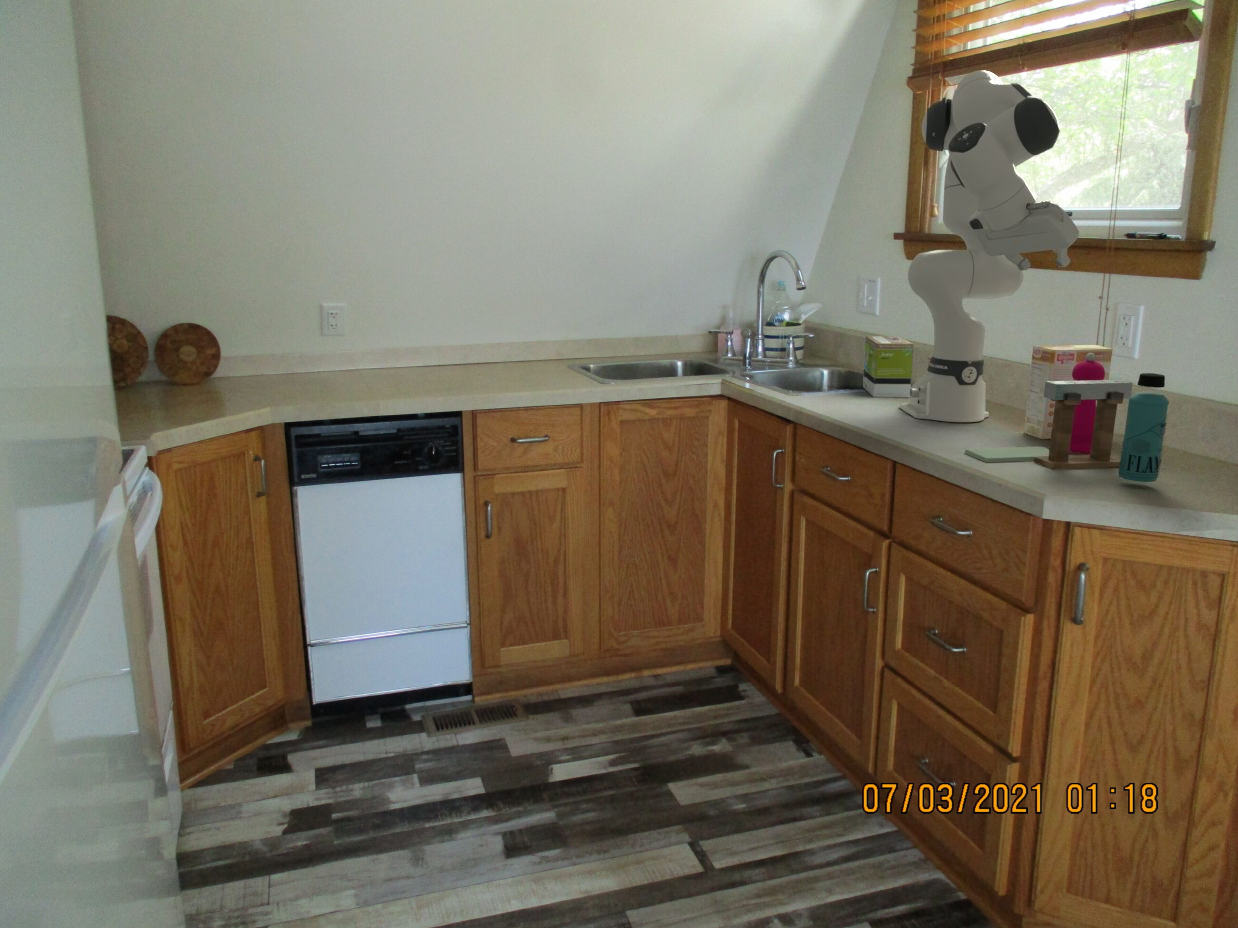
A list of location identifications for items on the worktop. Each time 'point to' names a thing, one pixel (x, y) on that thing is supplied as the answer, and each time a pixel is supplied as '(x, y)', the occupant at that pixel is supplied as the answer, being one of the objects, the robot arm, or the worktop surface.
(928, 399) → the robot arm
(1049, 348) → the coffeecake box
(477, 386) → the worktop surface
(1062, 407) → the stand
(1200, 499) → the worktop surface
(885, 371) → the tea box
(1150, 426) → the beverage bottle
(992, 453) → the mat
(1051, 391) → the rail
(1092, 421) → the pepper mill
